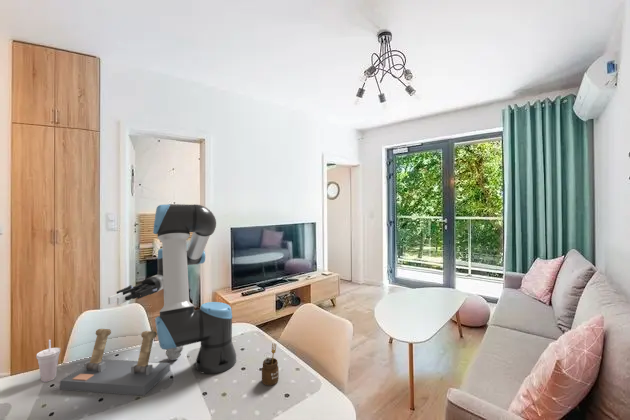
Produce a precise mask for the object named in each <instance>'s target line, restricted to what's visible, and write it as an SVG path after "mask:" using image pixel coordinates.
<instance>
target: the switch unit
mask: <svg viewBox="0 0 630 420" xmlns="http://www.w3.org/2000/svg"><path fill="white" fill-rule="evenodd" d="M89 362H90V360H88V361H86V362H84V363H83V366H82V367H80V368H78V369H77V370H75V371H74V372H72V373H71V374H68V375H67V376H65V377H64V378H61V380H60V382H59V383H60V386H59V387H60V390H65V391H76V392H77V391H78V392H92V393H103V394H104V393H106V394H117V395H118V394H120V395H133V396H145V395H146V394H147V393H149V392H150V390H152V389H153V388H154V387H155V386H156V385H157V384H158V383H159V382H160V381H161V380H162V379H164V377H165V376H166V375H167V374H168V373H170V371H171V363H170V362H159V361H158V362H157V361H149V362H148V365H149V366H148V367H146V373H140V372H134V368H135V366H136V365H137V363H138V360H125V359H111V358H110V359H108V358H107V359H106V358H102V361H101V362H102V363H100V364H99V365H98V370H93V369H87V364H88V363H89Z"/></svg>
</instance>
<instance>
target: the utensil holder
mask: <svg viewBox="0 0 630 420" xmlns="http://www.w3.org/2000/svg"><path fill="white" fill-rule="evenodd" d="M276 349H277V343H274V342H272V345H271V353H272V355H271V353H265V354H264V357H266V358H264V360H263V361H262V368H261V382H262V384H263V385H265V386H274V385H276V384H277V383H278V382H279V379H280V378H279V376H280V374H279V373H280V372H279V371H280V370H279V365H278V363H279V362H278V359H276V358H275V356H274V354H275V353H276V352H277V350H276ZM268 356H269V357H268ZM267 357H268V358H267Z"/></svg>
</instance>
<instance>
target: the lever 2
mask: <svg viewBox="0 0 630 420" xmlns="http://www.w3.org/2000/svg"><path fill="white" fill-rule="evenodd" d="M140 336H141V338H142V341H141V346H140V349H139V355H138V360H137V361H138V363H137V365H136V366H135V368H134V372H140V373H146V367H148V366H149V365H148V362H150V357H151V352H152V348H153V347H152V346H153V342H154V339H155V338H156V337H157V331H156V330H155V331H154V330H144V331H142V333H141V335H140Z"/></svg>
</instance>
